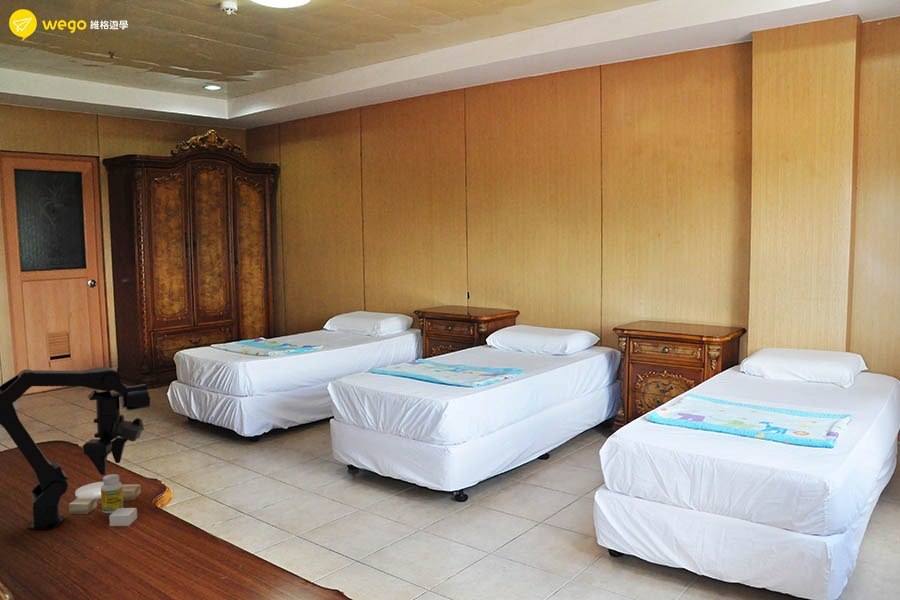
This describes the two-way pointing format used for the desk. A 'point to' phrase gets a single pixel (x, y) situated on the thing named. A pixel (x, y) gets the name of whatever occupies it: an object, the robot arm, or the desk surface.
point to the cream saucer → (90, 490)
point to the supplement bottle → (111, 493)
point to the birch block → (83, 505)
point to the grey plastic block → (123, 516)
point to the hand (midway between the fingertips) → (110, 468)
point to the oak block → (130, 491)
